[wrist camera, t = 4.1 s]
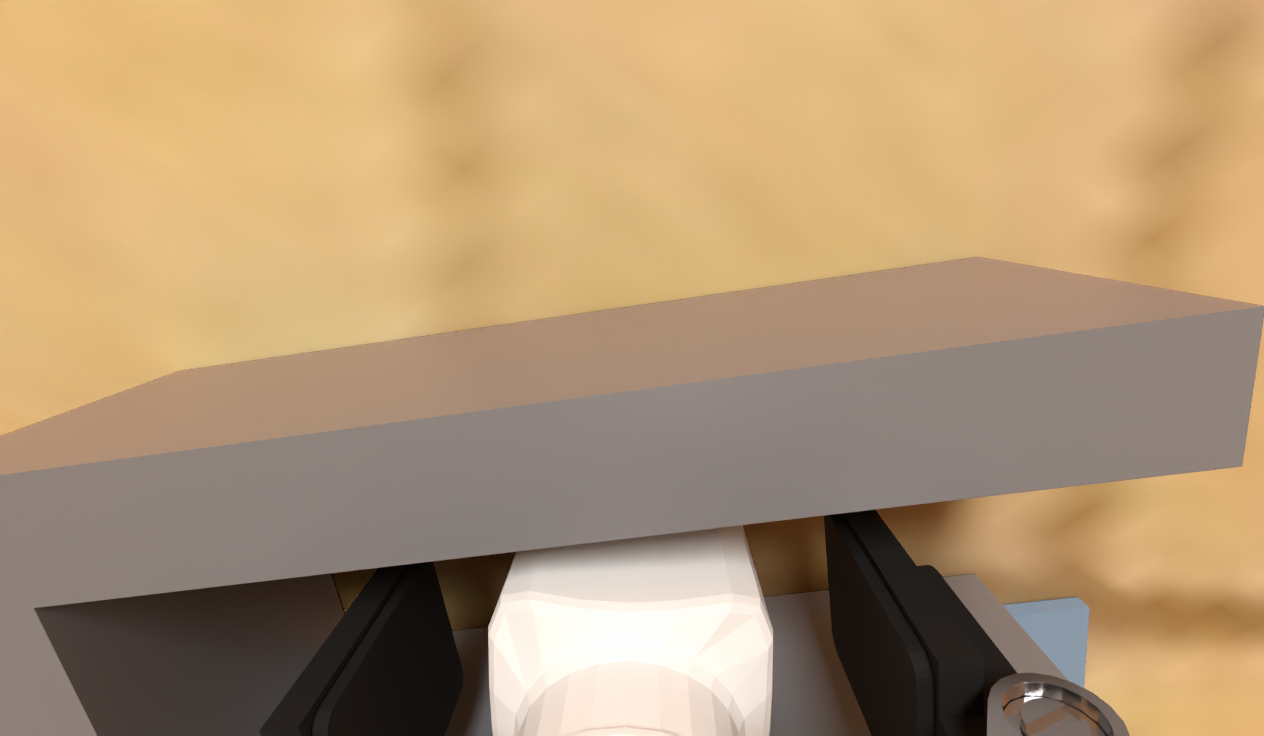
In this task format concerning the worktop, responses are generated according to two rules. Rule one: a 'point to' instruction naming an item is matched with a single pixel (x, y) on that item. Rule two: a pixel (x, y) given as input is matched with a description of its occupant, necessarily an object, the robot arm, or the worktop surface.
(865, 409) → the shelf rack
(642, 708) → the pepper shaker
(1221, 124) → the worktop surface
